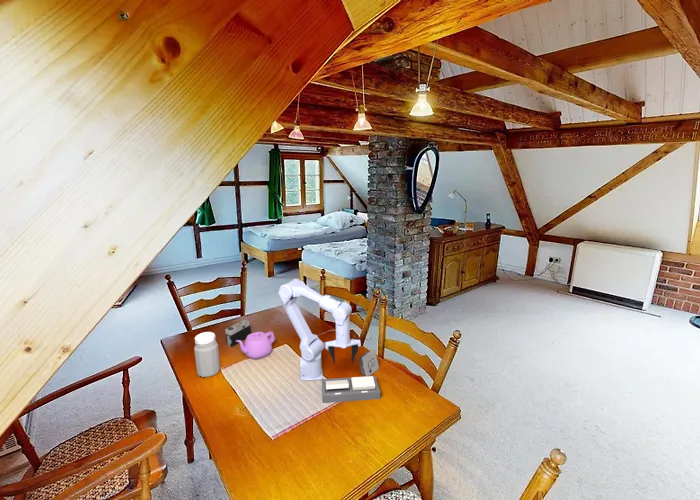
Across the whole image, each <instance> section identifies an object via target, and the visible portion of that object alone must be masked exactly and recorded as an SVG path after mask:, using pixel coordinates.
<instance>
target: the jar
mask: <svg viewBox="0 0 700 500" xmlns="http://www.w3.org/2000/svg"><path fill="white" fill-rule="evenodd" d="M194 344H195V346H194V347H193V350H194V359H195V367H196V374H197V376H198V377H200V376H201V378H203V377H208V378H210V377H209V376H212V377H214V376H216V375H217V374H218V373H219V371H220V370H221V363H220V352H219V344H218V342H217V340H216V334H215V333H214V332H212V331H204V332H200V333H199V334H197V335H195V337H194ZM216 373H217V374H216ZM215 374H216V375H215ZM213 375H214V376H213Z"/></svg>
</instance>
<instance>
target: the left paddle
mask: <svg viewBox="0 0 700 500" xmlns="http://www.w3.org/2000/svg"><path fill="white" fill-rule="evenodd" d="M339 388H349V383H348V380H337V381H326V389H339Z"/></svg>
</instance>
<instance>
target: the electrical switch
mask: <svg viewBox="0 0 700 500" xmlns="http://www.w3.org/2000/svg"><path fill="white" fill-rule="evenodd" d="M357 359H358V363H359V368H360V372H361V375H364V376H365V377H366V376H373V374H374V373H375V372H377V371H378V370H379V369H380V365H379V360H378V356H377V351H376V350H375V349H372V350H368V351H366V352H365V353H363V354H362V355H360V356H359V357H358V358H357Z"/></svg>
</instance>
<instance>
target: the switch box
mask: <svg viewBox="0 0 700 500" xmlns="http://www.w3.org/2000/svg"><path fill="white" fill-rule="evenodd" d="M372 376H373V378H374V383H375V389H368V390H353V389H352V382H351V378H353V377H354V376H353V377H340V378H339V377H337V378H323V379H321V398H322V401H321V402H322V404H323V403H324V404H325V403H326V404H328V403H329V404H330V403H340V402H341V403H342V402H354V401H355V402H356V401H368V400H369V401H370V400H381V389H380V386H379V383H378V380H377V376H376V375H372ZM365 377H368V376H366V375H365ZM337 380H348V383H349V388H339V389H326V381H337Z"/></svg>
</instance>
